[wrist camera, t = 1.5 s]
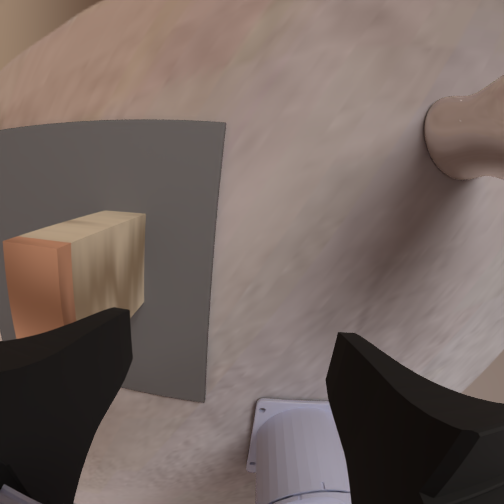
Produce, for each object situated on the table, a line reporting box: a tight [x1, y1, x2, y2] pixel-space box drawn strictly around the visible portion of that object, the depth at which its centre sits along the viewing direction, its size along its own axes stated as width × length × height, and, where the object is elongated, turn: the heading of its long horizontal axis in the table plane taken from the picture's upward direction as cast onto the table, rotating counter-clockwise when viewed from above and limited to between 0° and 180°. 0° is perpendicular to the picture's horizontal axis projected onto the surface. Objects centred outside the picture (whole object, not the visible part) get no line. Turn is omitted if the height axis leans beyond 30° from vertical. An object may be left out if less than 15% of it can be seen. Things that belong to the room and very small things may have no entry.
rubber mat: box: [0, 120, 226, 403], centre depth 21 cm, size 20×20×1 cm
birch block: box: [3, 211, 146, 339], centre depth 15 cm, size 6×3×10 cm, turn 174°
